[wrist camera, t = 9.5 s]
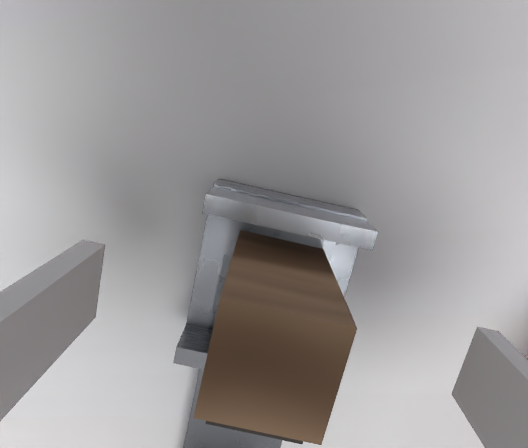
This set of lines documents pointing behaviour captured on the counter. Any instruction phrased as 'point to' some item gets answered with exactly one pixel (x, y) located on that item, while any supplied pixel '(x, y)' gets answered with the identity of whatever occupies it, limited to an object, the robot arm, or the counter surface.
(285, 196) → the rail
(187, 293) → the counter surface
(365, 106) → the counter surface
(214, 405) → the block
